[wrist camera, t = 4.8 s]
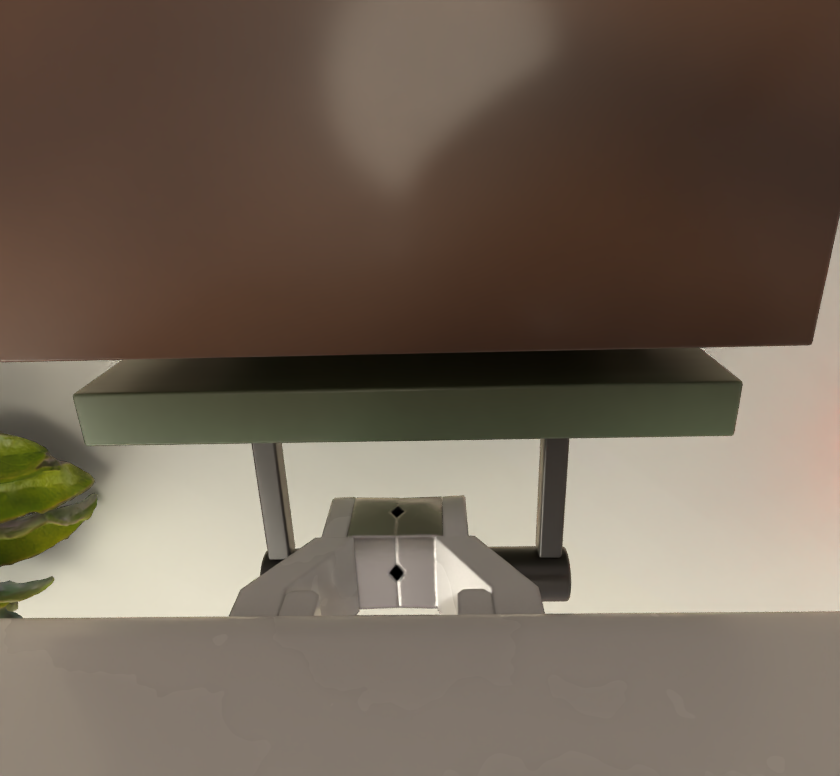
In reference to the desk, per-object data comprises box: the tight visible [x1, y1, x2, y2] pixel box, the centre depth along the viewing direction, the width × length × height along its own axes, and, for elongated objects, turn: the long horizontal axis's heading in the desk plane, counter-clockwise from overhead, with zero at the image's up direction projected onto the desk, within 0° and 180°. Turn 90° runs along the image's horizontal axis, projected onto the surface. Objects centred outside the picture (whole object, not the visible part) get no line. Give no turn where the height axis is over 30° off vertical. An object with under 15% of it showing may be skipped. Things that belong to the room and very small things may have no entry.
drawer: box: [73, 348, 743, 601], centre depth 15 cm, size 23×13×9 cm, turn 2°
